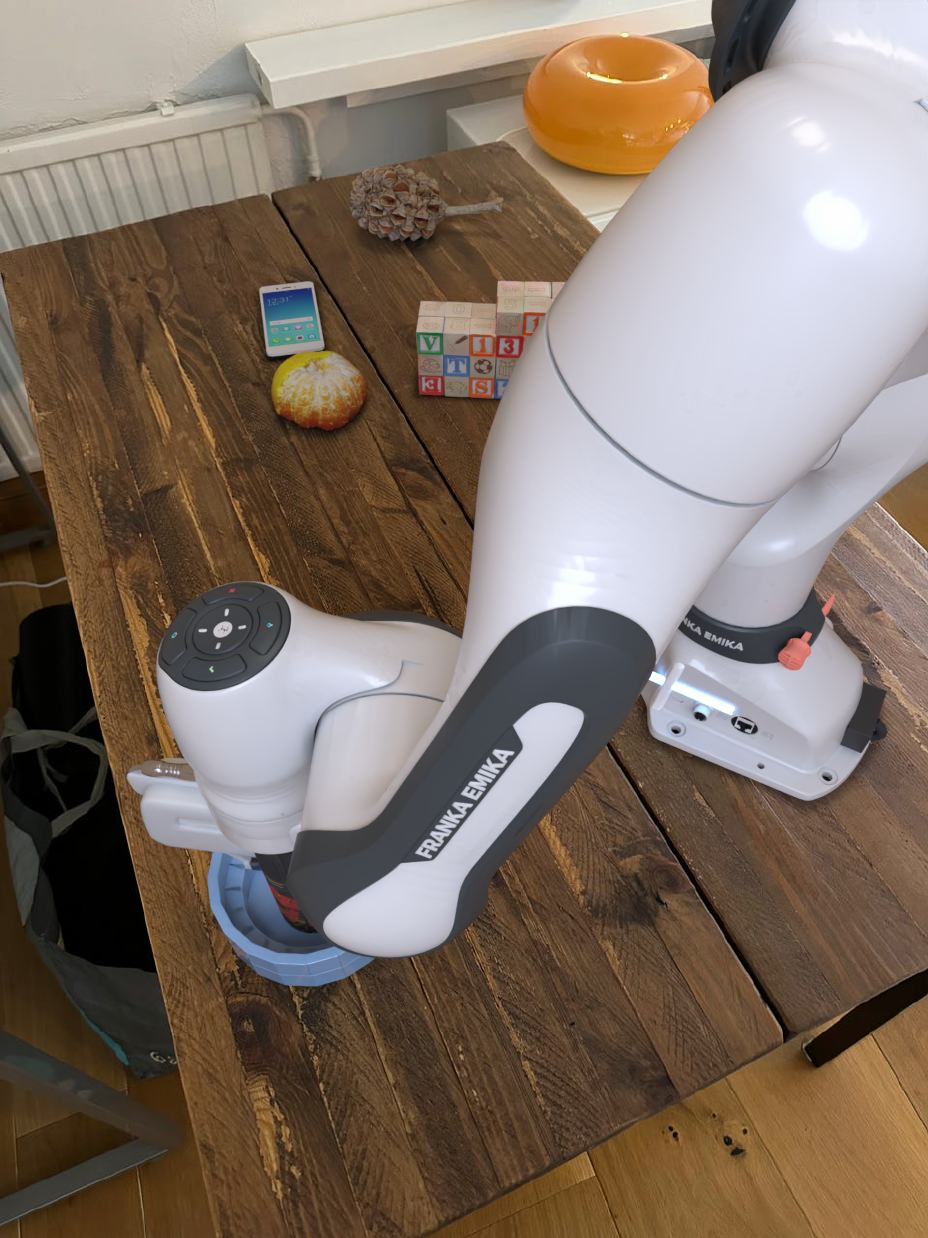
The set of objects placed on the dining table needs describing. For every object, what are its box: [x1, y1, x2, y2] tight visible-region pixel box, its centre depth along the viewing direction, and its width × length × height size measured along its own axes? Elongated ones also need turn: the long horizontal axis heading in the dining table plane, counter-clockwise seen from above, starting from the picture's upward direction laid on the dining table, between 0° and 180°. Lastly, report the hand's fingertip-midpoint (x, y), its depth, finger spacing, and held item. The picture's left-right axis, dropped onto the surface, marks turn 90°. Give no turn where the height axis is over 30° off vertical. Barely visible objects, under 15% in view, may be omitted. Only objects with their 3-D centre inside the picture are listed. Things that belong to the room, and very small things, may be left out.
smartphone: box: [258, 280, 326, 361], centre depth 123 cm, size 8×1×15 cm
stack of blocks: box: [415, 280, 567, 400], centre depth 111 cm, size 21×6×12 cm, turn 86°
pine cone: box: [348, 163, 508, 242], centre depth 132 cm, size 22×10×10 cm, turn 94°
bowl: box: [206, 852, 375, 987], centre depth 74 cm, size 15×15×6 cm
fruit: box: [270, 350, 368, 432], centre depth 111 cm, size 11×10×8 cm
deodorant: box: [254, 851, 318, 934], centre depth 70 cm, size 6×6×15 cm
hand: (305, 867), depth 71 cm, fingers closed on deodorant, 6 cm apart
